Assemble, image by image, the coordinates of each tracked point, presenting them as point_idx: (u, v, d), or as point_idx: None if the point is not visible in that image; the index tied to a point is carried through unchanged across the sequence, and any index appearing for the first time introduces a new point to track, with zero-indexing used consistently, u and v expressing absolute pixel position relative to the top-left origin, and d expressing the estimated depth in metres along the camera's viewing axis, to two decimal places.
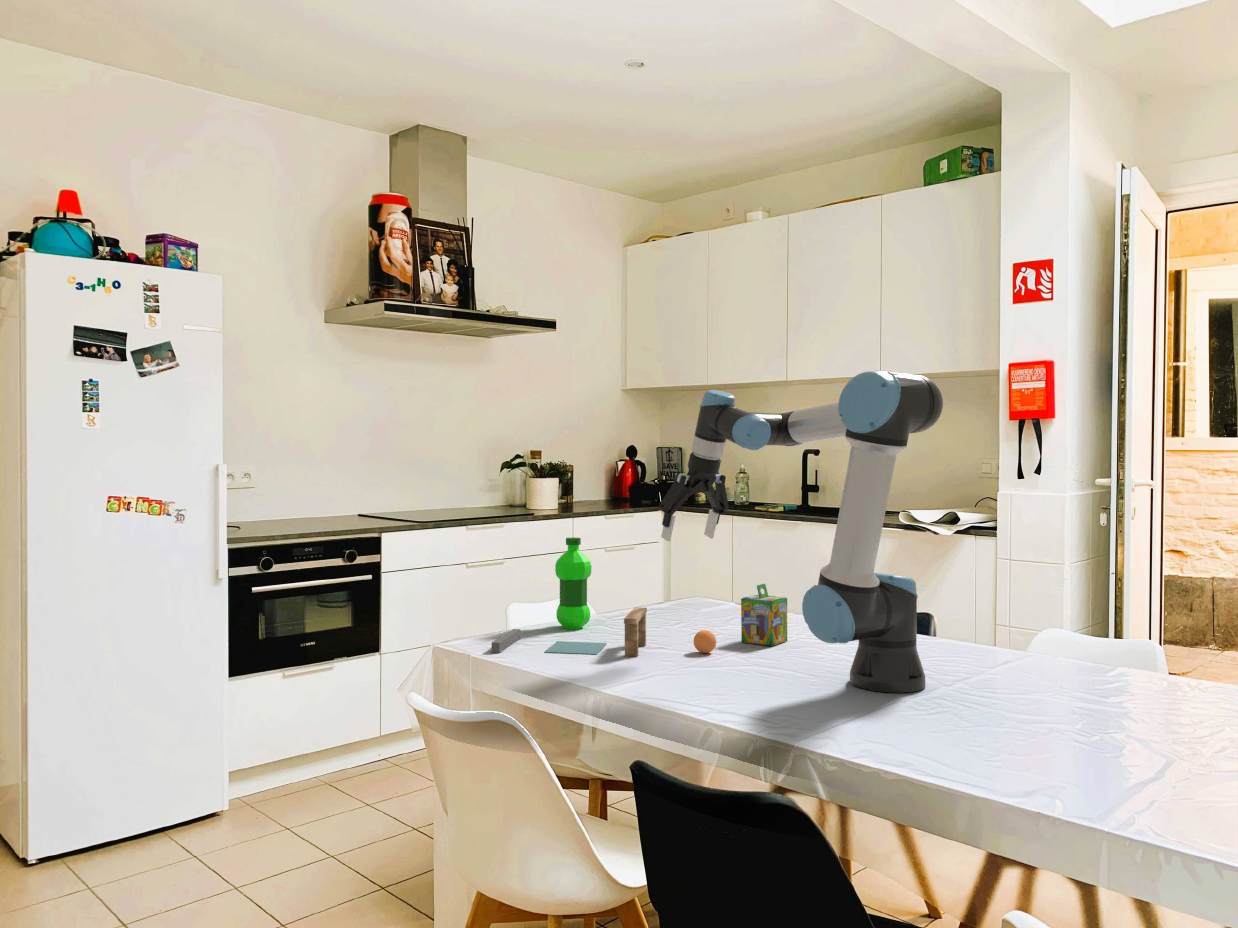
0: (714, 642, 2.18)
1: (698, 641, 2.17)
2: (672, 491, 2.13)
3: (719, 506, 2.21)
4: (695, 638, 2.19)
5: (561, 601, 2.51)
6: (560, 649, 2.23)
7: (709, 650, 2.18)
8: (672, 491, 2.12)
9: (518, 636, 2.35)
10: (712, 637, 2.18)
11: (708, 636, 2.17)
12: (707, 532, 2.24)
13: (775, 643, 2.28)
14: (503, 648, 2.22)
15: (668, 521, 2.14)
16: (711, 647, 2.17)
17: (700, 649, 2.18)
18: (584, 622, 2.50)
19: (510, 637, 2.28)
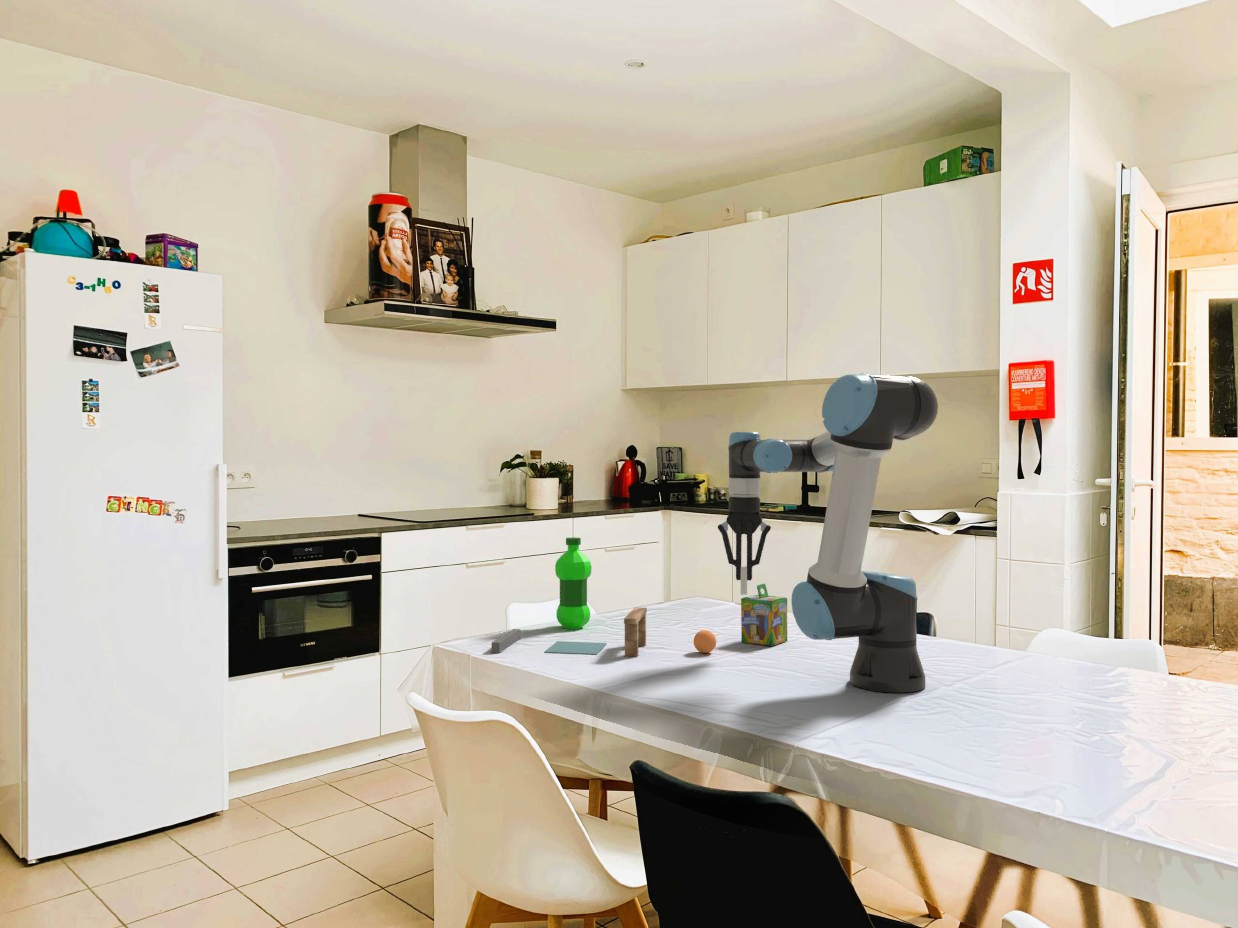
0: (714, 642, 2.18)
1: (698, 641, 2.17)
2: None
3: (750, 558, 2.16)
4: (695, 638, 2.19)
5: (561, 601, 2.51)
6: (560, 649, 2.23)
7: (709, 650, 2.18)
8: None
9: (518, 636, 2.35)
10: (712, 637, 2.18)
11: (708, 636, 2.17)
12: None
13: (775, 643, 2.28)
14: (503, 648, 2.22)
15: (738, 573, 2.17)
16: (711, 647, 2.17)
17: (700, 649, 2.18)
18: (584, 622, 2.50)
19: (510, 637, 2.28)
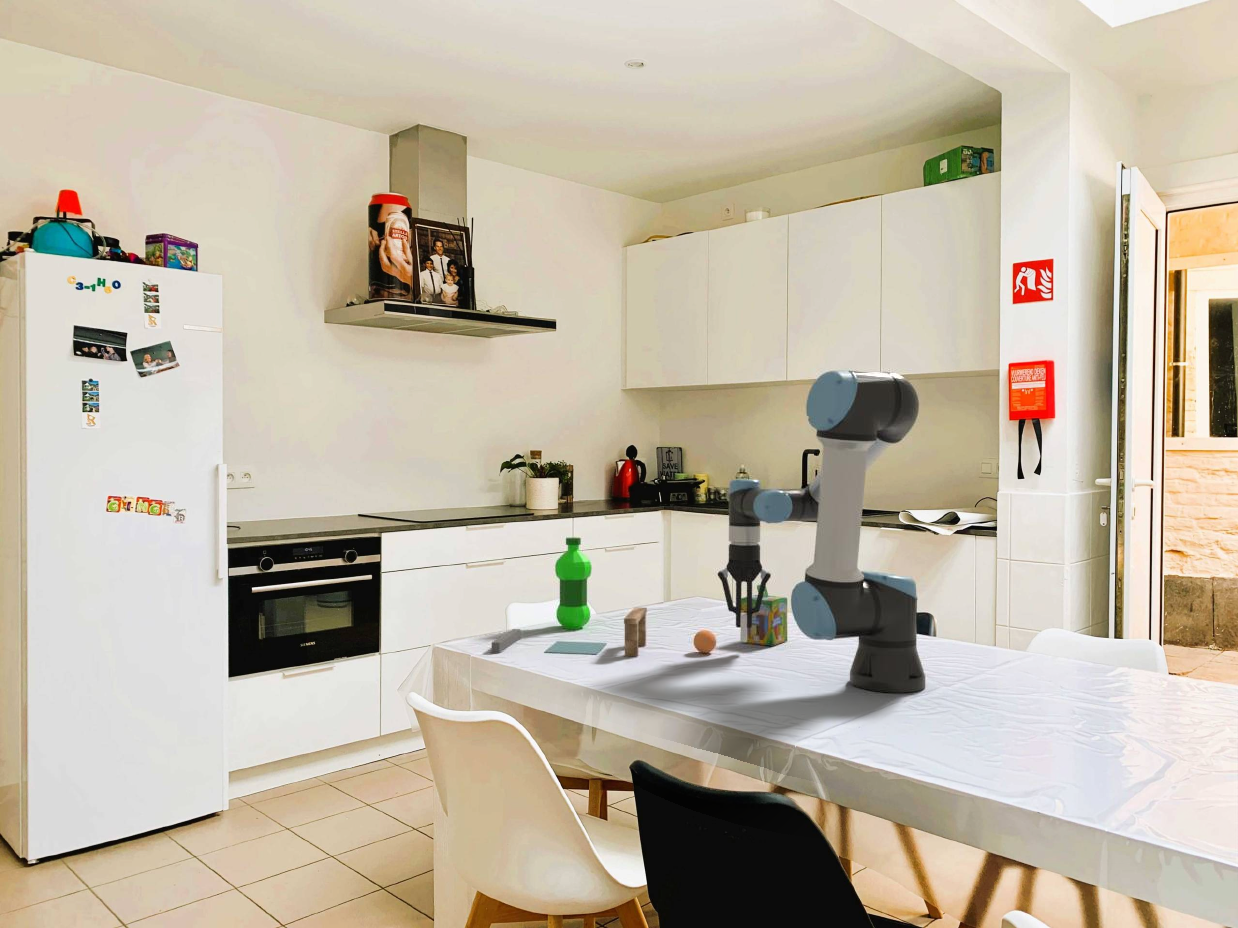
0: (714, 642, 2.18)
1: (698, 641, 2.17)
2: None
3: (750, 606, 2.16)
4: (695, 638, 2.19)
5: (561, 601, 2.51)
6: (560, 649, 2.23)
7: (709, 650, 2.18)
8: None
9: (518, 636, 2.35)
10: (712, 637, 2.18)
11: (708, 636, 2.17)
12: None
13: (775, 643, 2.28)
14: (503, 648, 2.22)
15: (738, 621, 2.18)
16: (711, 647, 2.17)
17: (700, 649, 2.18)
18: (584, 622, 2.50)
19: (510, 637, 2.28)
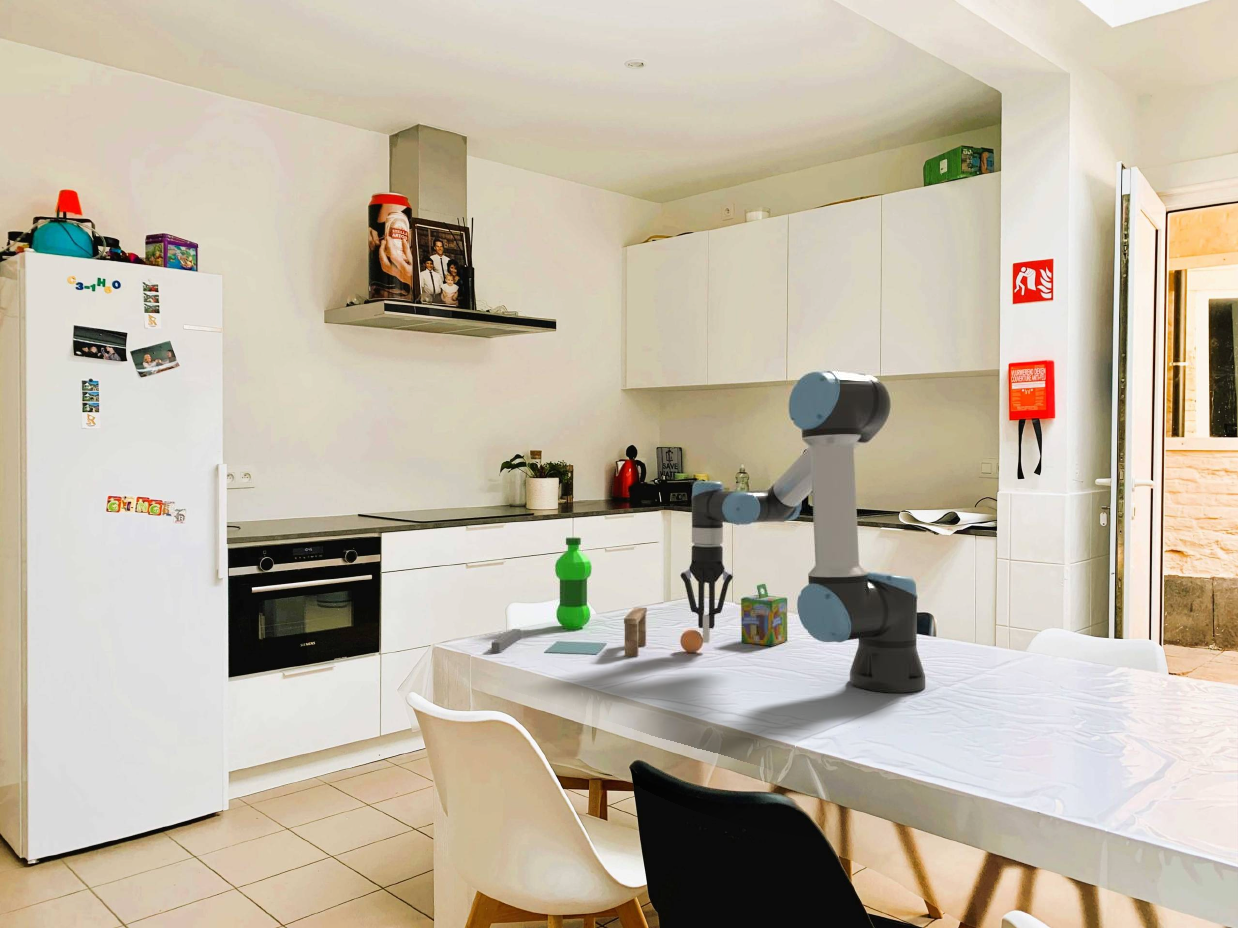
0: (696, 633, 2.19)
1: (685, 645, 2.18)
2: None
3: (712, 607, 2.19)
4: (682, 646, 2.19)
5: (561, 601, 2.51)
6: (560, 649, 2.23)
7: (699, 642, 2.18)
8: None
9: (518, 636, 2.35)
10: (691, 632, 2.19)
11: (687, 634, 2.19)
12: None
13: (775, 643, 2.28)
14: (503, 648, 2.22)
15: (700, 621, 2.20)
16: (698, 638, 2.18)
17: (693, 649, 2.18)
18: (584, 622, 2.50)
19: (510, 637, 2.28)
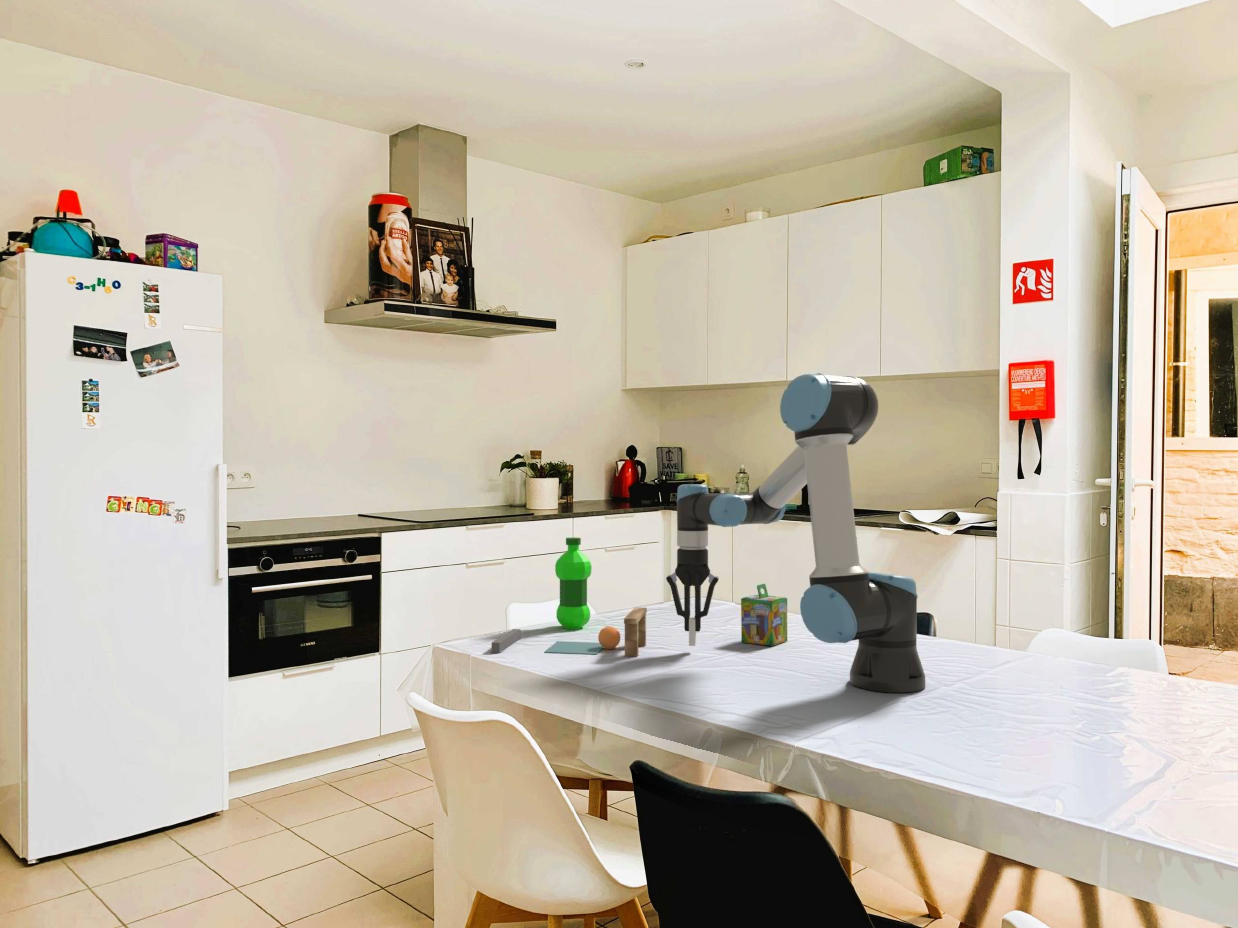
0: (602, 630, 2.24)
1: (608, 644, 2.22)
2: None
3: (698, 610, 2.19)
4: (609, 647, 2.23)
5: (561, 601, 2.51)
6: (560, 649, 2.23)
7: (611, 630, 2.23)
8: None
9: (518, 636, 2.35)
10: (599, 634, 2.24)
11: (599, 638, 2.23)
12: None
13: (775, 643, 2.28)
14: (503, 648, 2.22)
15: (687, 625, 2.20)
16: (607, 630, 2.23)
17: (614, 638, 2.22)
18: (584, 622, 2.50)
19: (510, 637, 2.28)
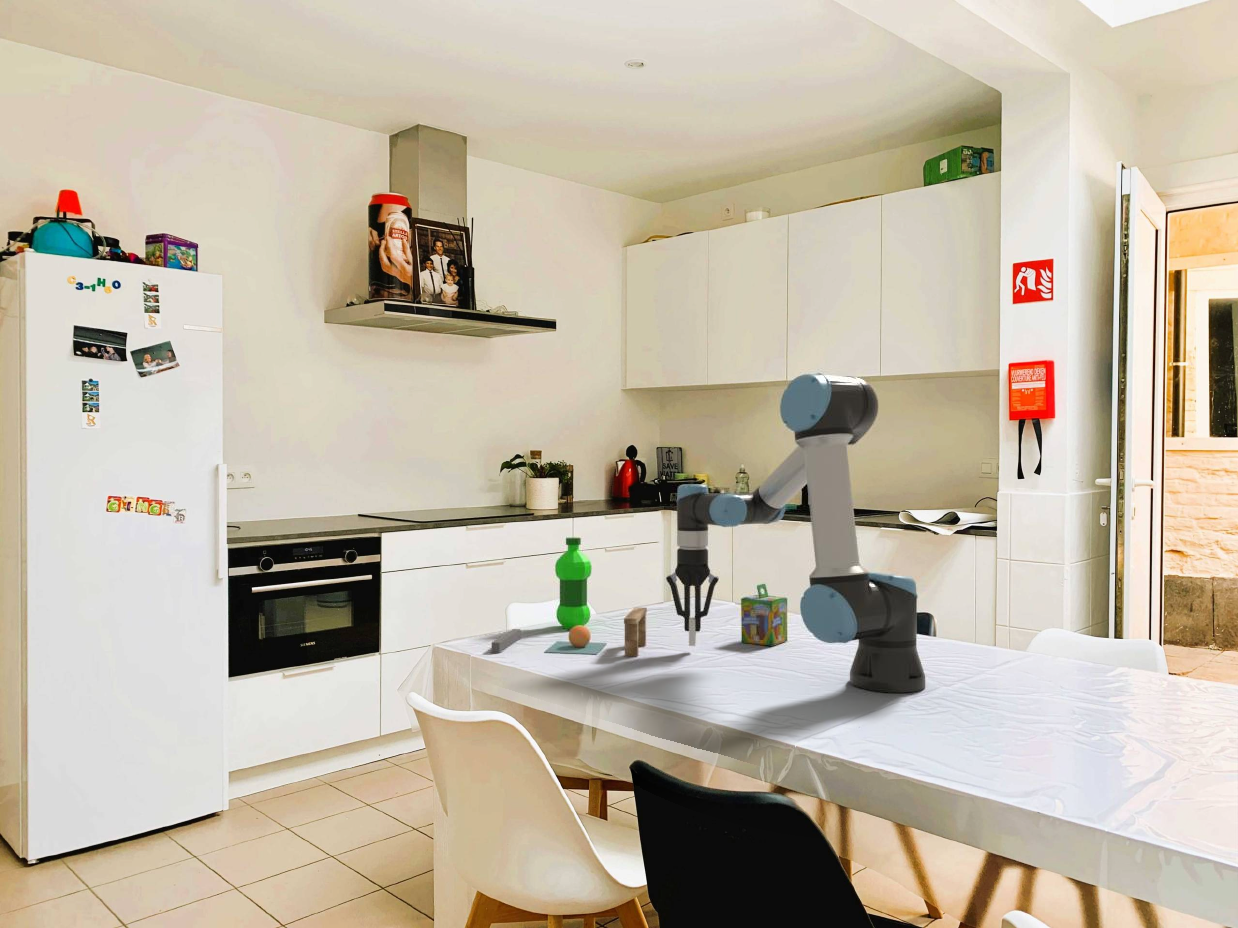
0: (580, 646, 2.25)
1: (578, 632, 2.24)
2: None
3: (698, 610, 2.19)
4: (579, 628, 2.25)
5: (561, 601, 2.51)
6: (560, 649, 2.23)
7: (572, 643, 2.25)
8: None
9: (518, 636, 2.35)
10: (585, 644, 2.24)
11: (585, 640, 2.24)
12: None
13: (775, 643, 2.28)
14: (503, 648, 2.22)
15: (687, 625, 2.20)
16: (575, 645, 2.24)
17: (570, 635, 2.24)
18: (584, 622, 2.50)
19: (510, 637, 2.28)
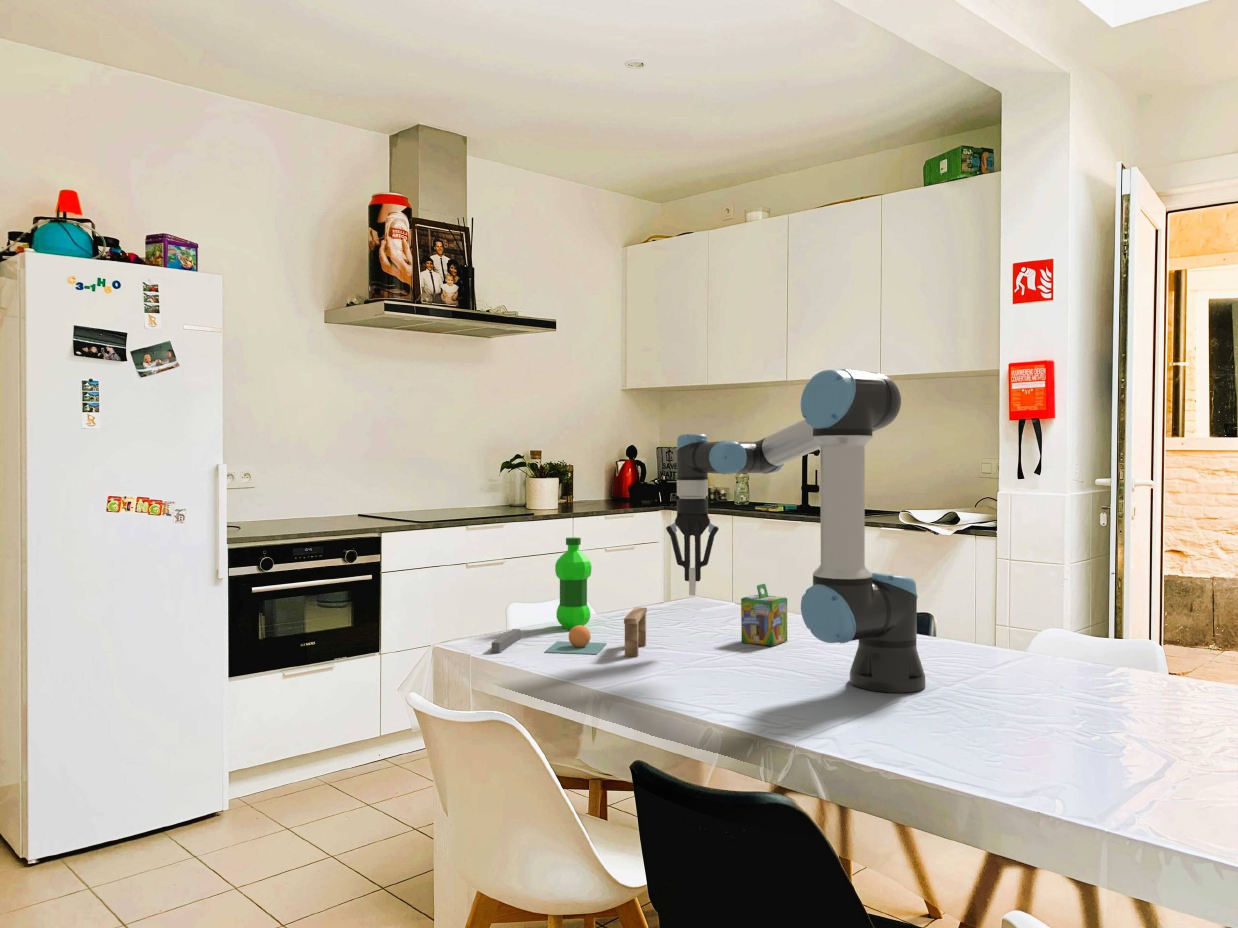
0: (580, 646, 2.25)
1: (578, 632, 2.24)
2: None
3: (698, 559, 2.18)
4: (579, 628, 2.25)
5: (561, 601, 2.51)
6: (560, 649, 2.23)
7: (572, 643, 2.25)
8: None
9: (518, 636, 2.35)
10: (585, 644, 2.24)
11: (585, 640, 2.24)
12: None
13: (775, 643, 2.28)
14: (503, 648, 2.22)
15: (687, 574, 2.19)
16: (575, 645, 2.24)
17: (570, 635, 2.24)
18: (584, 622, 2.50)
19: (510, 637, 2.28)
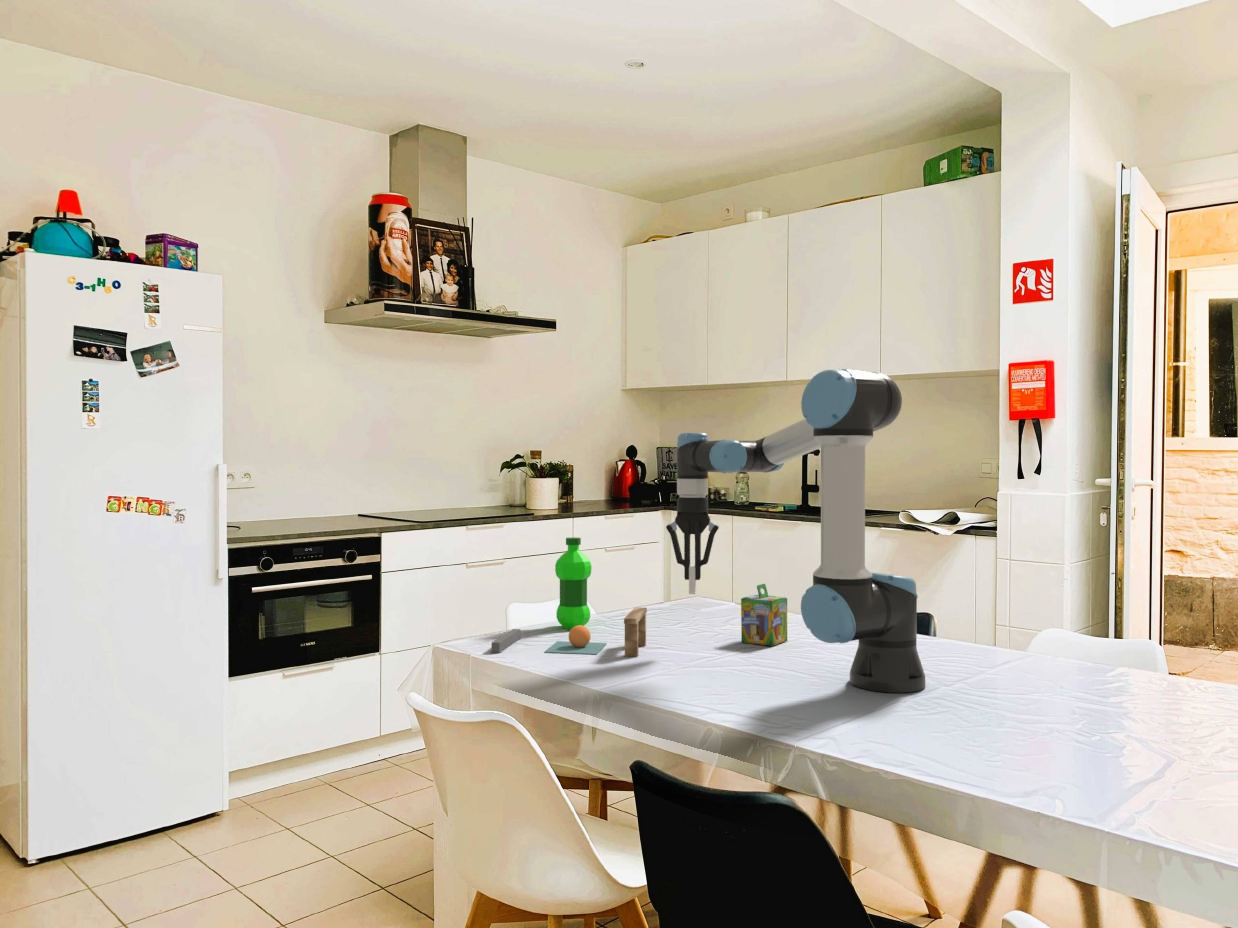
0: (580, 646, 2.25)
1: (578, 632, 2.24)
2: None
3: (698, 558, 2.18)
4: (579, 628, 2.25)
5: (561, 601, 2.51)
6: (560, 649, 2.23)
7: (572, 643, 2.25)
8: None
9: (518, 636, 2.35)
10: (585, 644, 2.24)
11: (585, 640, 2.24)
12: None
13: (775, 643, 2.28)
14: (503, 648, 2.22)
15: (687, 573, 2.19)
16: (575, 645, 2.24)
17: (570, 635, 2.24)
18: (584, 622, 2.50)
19: (510, 637, 2.28)
